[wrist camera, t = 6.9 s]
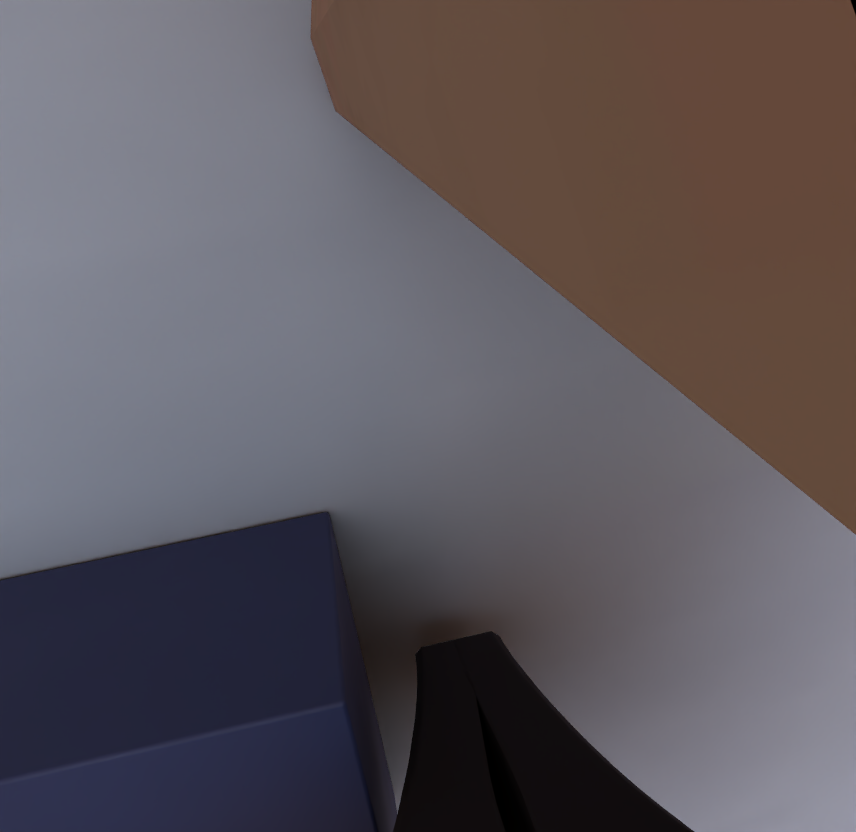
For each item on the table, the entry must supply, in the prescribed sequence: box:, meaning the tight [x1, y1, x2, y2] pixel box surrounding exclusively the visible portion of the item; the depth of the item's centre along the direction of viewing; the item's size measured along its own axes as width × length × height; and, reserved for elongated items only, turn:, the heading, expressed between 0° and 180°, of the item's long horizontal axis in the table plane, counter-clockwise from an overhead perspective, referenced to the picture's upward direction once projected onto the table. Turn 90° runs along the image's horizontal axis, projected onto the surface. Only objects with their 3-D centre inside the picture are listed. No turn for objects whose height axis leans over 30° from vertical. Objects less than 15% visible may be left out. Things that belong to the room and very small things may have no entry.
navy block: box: [0, 512, 397, 832], centre depth 11 cm, size 6×6×4 cm
